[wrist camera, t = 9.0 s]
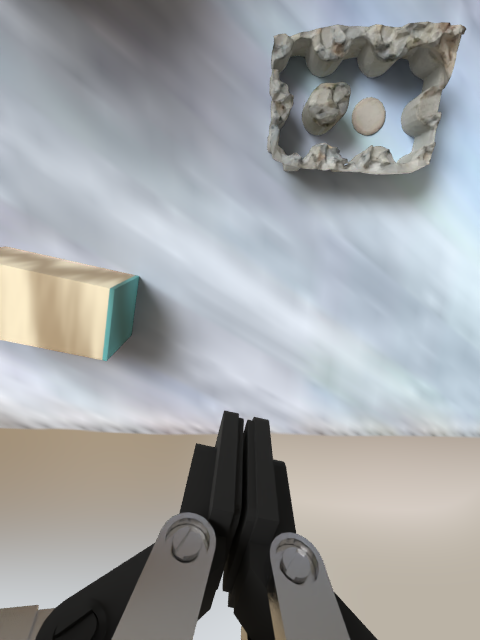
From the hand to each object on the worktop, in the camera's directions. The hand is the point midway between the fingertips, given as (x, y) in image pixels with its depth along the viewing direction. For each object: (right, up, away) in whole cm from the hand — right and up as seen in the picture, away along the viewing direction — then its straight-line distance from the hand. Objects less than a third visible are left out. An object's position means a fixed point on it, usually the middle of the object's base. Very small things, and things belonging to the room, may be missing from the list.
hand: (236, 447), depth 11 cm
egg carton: (+7, +18, +10) cm, 22 cm away
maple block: (-8, +5, +11) cm, 15 cm away
